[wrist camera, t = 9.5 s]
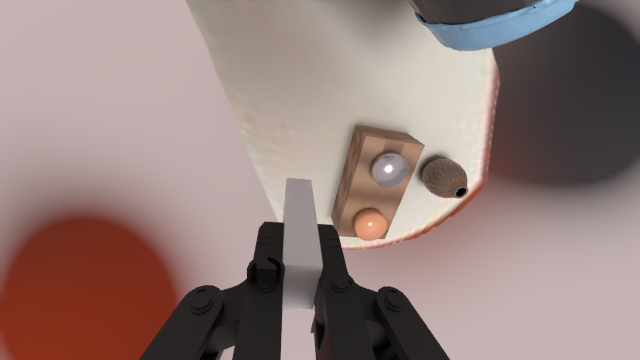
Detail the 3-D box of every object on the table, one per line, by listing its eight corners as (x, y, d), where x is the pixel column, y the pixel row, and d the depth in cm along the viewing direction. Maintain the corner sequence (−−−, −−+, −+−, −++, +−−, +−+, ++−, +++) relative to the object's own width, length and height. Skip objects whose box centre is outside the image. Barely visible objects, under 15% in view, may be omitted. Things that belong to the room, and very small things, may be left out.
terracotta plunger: (352, 194, 44) (361, 214, 38) (379, 196, 45) (391, 217, 40) (345, 217, 47) (352, 239, 41) (370, 219, 48) (381, 241, 42)
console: (356, 124, 40) (365, 135, 34) (407, 133, 42) (424, 145, 36) (331, 216, 49) (336, 235, 44) (374, 220, 51) (384, 239, 46)
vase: (456, 163, 46) (490, 185, 38) (433, 189, 48) (459, 214, 41) (433, 147, 44) (463, 167, 36) (409, 176, 46) (433, 200, 39)
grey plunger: (367, 138, 40) (380, 153, 34) (397, 143, 41) (414, 158, 35) (358, 167, 42) (369, 185, 36) (386, 171, 43) (401, 189, 38)
